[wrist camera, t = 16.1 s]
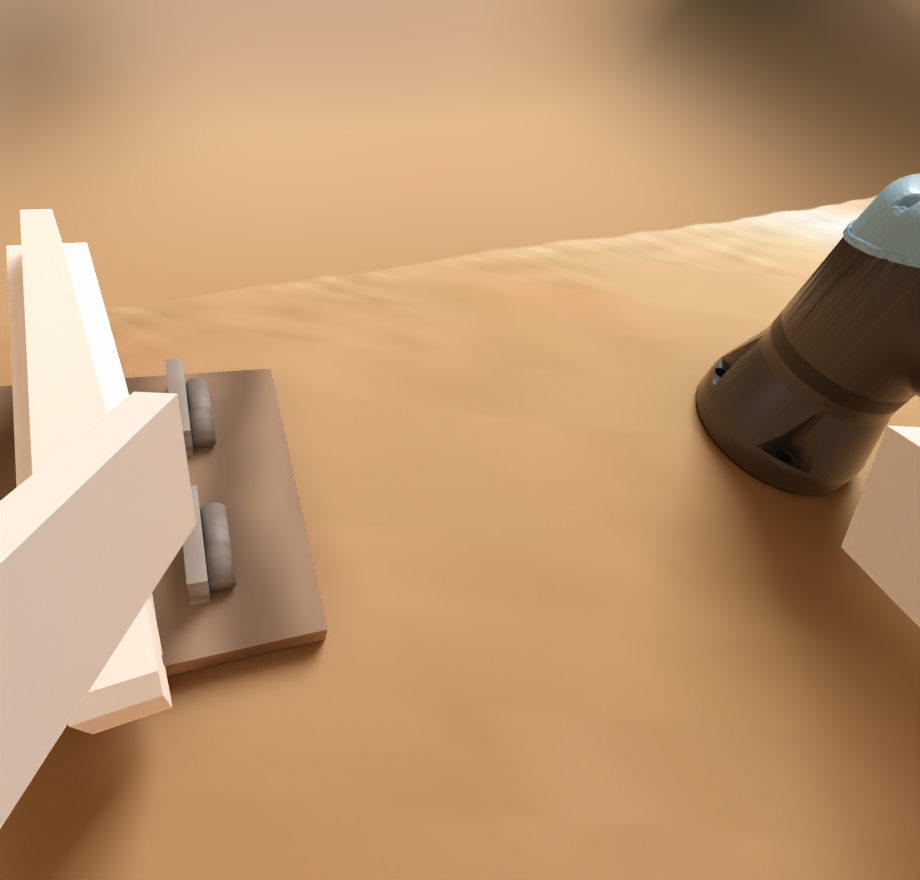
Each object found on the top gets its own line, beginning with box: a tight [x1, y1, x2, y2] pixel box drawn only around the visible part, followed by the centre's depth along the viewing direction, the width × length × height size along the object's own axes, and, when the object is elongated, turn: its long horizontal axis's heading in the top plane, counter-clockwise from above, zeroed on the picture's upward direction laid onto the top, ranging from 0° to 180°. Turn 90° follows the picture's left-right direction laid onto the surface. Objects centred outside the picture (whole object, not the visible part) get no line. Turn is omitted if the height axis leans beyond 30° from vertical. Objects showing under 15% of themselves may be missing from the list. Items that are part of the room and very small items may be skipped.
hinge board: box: [0, 359, 327, 676], centre depth 36 cm, size 20×20×4 cm
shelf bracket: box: [6, 209, 172, 734], centre depth 33 cm, size 6×25×13 cm, turn 25°
